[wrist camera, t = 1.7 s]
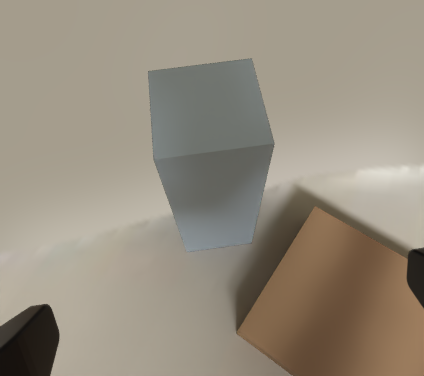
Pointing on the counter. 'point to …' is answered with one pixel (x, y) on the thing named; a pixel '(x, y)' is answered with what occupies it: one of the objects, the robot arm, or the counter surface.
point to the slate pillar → (211, 149)
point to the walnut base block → (338, 307)
